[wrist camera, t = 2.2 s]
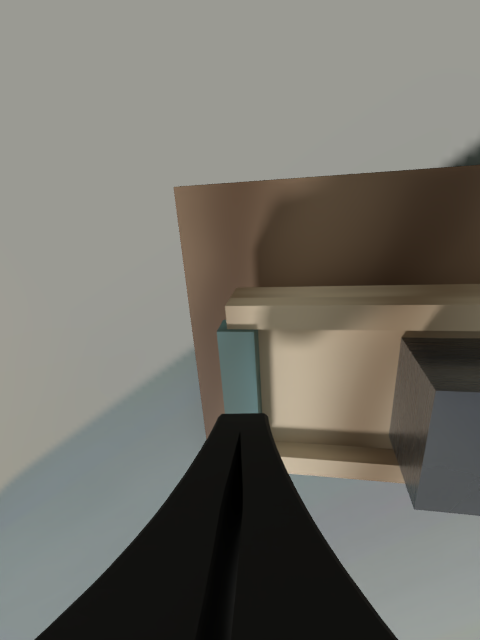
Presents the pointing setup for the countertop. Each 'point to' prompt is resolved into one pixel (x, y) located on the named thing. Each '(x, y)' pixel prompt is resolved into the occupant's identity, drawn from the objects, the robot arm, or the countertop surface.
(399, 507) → the countertop surface
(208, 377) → the stand
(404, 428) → the grey block
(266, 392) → the beam
